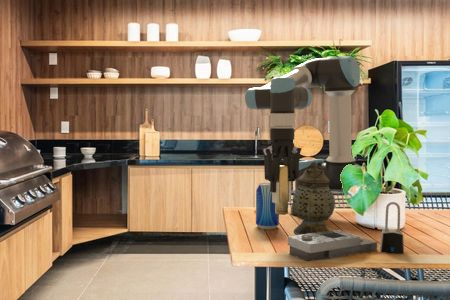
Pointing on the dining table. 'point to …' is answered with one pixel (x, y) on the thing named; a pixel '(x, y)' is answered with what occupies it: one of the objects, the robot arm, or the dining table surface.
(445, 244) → the dining table surface
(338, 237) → the grey device box
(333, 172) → the robot arm
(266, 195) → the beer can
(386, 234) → the padlock
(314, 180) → the lantern
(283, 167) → the brass pin
